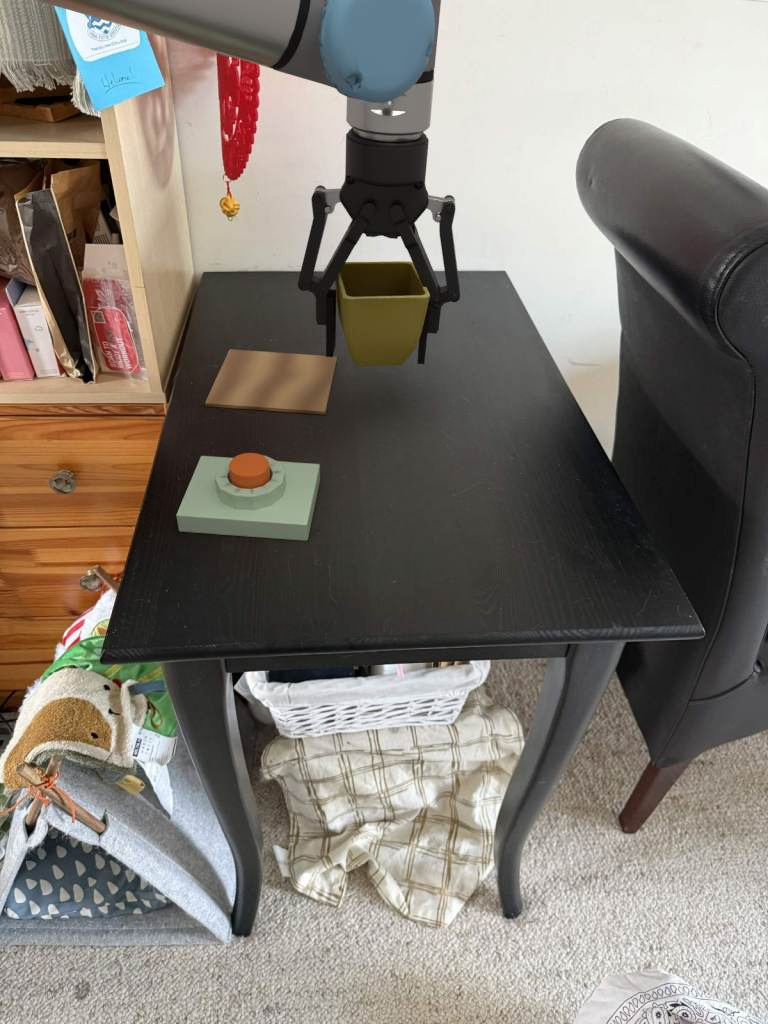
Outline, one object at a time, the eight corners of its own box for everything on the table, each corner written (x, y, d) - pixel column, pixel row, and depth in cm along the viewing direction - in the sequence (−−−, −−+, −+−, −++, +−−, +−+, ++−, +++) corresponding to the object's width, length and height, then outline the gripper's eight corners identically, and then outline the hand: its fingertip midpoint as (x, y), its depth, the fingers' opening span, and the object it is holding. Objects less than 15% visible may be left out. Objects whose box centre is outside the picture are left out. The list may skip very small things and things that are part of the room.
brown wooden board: (205, 406, 91) (204, 403, 90) (229, 352, 101) (229, 349, 101) (325, 414, 90) (325, 411, 90) (337, 359, 101) (337, 356, 101)
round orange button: (226, 488, 73) (224, 474, 72) (235, 464, 76) (233, 451, 75) (266, 491, 73) (265, 477, 72) (273, 467, 76) (272, 453, 75)
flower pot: (423, 375, 78) (431, 295, 72) (342, 378, 76) (343, 297, 71) (407, 337, 84) (413, 260, 79) (331, 339, 83) (332, 261, 77)
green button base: (178, 531, 73) (173, 501, 71) (203, 471, 81) (199, 441, 78) (307, 541, 73) (306, 510, 70) (320, 479, 81) (319, 450, 78)
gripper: (258, 131, 63) (270, 363, 77) (512, 150, 63) (476, 379, 77) (273, 111, 69) (282, 331, 83) (506, 129, 68) (474, 346, 83)
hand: (375, 354), depth 80 cm, fingers closed on flower pot, 9 cm apart
